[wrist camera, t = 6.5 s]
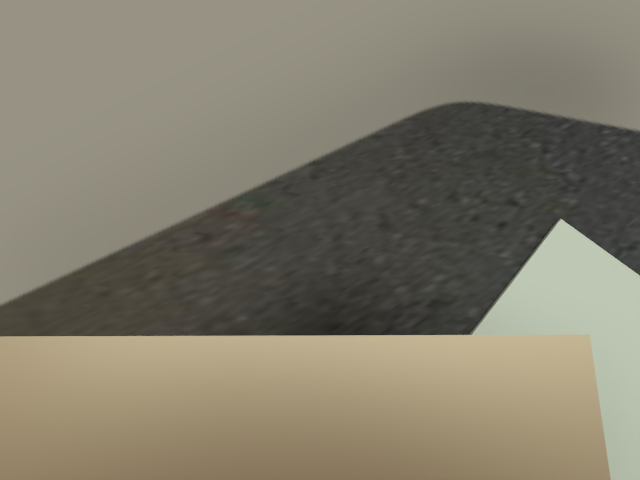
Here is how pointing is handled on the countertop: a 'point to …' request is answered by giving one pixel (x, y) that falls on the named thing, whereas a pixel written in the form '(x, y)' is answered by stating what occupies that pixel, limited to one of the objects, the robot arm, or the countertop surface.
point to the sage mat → (583, 326)
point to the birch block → (300, 408)
